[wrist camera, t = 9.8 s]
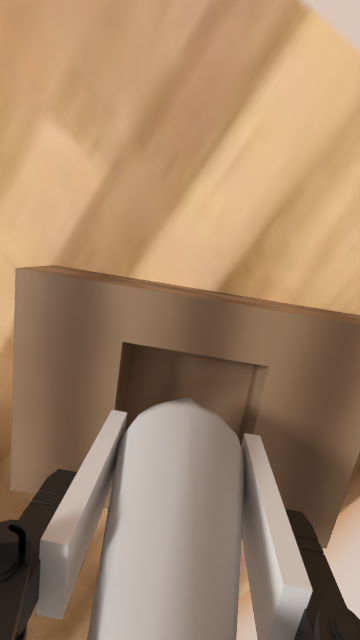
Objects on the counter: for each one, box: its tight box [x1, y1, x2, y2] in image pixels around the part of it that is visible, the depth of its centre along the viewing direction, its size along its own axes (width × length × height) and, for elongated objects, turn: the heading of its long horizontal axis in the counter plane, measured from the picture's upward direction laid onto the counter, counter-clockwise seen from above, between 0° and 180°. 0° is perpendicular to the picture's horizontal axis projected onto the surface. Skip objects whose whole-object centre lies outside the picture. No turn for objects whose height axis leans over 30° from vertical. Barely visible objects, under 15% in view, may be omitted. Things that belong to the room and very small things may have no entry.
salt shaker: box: [87, 397, 245, 640], centre depth 9 cm, size 6×6×13 cm
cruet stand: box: [10, 265, 360, 548], centre depth 18 cm, size 20×14×4 cm
